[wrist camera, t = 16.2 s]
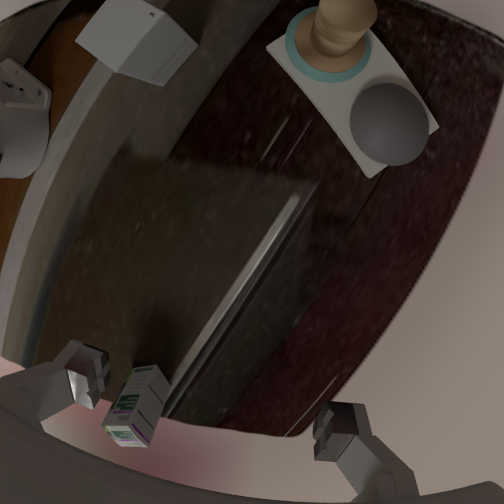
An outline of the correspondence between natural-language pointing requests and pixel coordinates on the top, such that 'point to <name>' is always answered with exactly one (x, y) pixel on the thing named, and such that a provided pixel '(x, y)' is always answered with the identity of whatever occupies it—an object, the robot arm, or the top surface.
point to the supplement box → (137, 40)
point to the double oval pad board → (363, 102)
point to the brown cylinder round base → (335, 34)
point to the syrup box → (137, 407)
